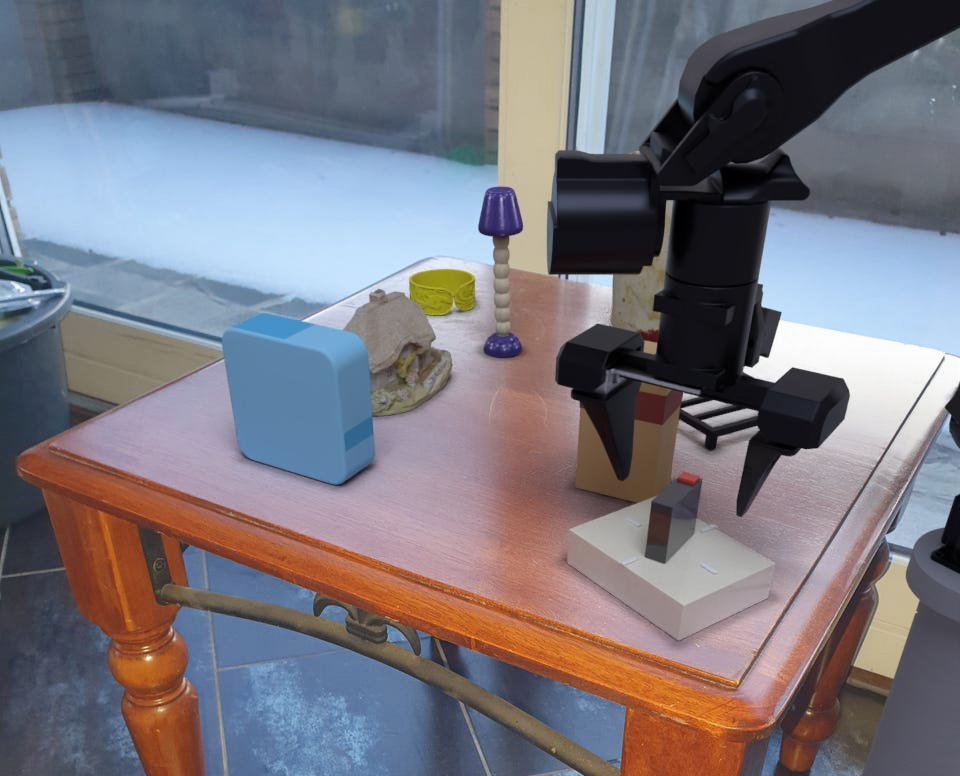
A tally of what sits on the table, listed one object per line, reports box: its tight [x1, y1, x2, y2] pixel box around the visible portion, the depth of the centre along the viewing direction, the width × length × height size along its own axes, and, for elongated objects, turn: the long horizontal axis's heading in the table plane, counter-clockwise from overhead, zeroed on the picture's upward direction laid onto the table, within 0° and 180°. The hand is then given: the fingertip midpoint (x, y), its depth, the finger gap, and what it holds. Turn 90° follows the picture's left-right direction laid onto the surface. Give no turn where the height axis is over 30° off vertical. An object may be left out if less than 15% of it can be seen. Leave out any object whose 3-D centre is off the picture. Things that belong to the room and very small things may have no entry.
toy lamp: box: [477, 186, 524, 358], centre depth 105 cm, size 5×5×17 cm
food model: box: [610, 150, 673, 343], centre depth 107 cm, size 10×7×20 cm
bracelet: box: [408, 268, 476, 316], centre depth 121 cm, size 7×8×3 cm
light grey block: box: [566, 495, 776, 642], centre depth 73 cm, size 12×9×3 cm
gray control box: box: [645, 471, 703, 563], centre depth 70 cm, size 5×2×5 cm, turn 146°
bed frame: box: [678, 371, 758, 452], centre depth 98 cm, size 19×12×2 cm, turn 29°
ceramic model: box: [342, 288, 454, 417], centre depth 98 cm, size 14×11×10 cm
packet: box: [574, 341, 684, 504], centre depth 81 cm, size 5×7×12 cm, turn 62°
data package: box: [221, 312, 376, 486], centre depth 85 cm, size 12×4×12 cm, turn 60°
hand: (680, 496), depth 71 cm, fingers open, 9 cm apart
